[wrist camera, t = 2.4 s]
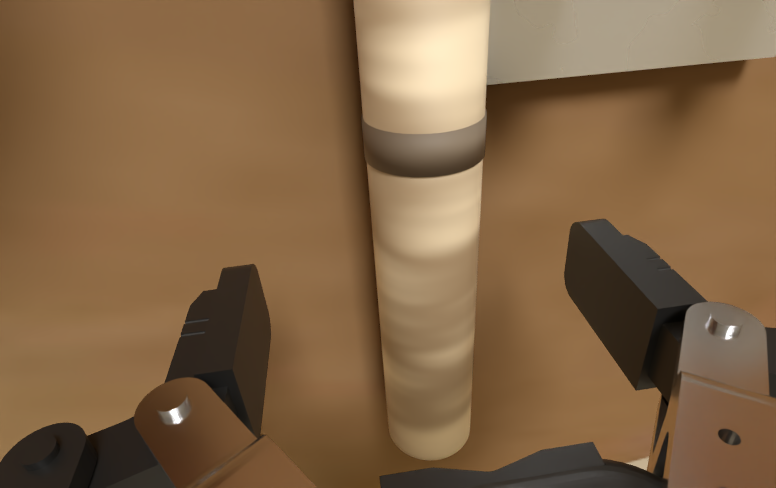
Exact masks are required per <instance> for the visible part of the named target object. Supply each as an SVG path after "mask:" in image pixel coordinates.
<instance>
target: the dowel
mask: <svg viewBox="0 0 776 488" xmlns="http://www.w3.org/2000/svg"><path fill="white" fill-rule="evenodd" d="M353 1H354V14H355V26H356V38H357V50H358V62H359V74H360V87H361V99H362V111H363V114H362V116H361V120H362V132H363V144H364V155H365V160H366V162H367V172H368V184H369V196H370V208H371V220H372V232H373V245H374V257H375V269H376V281H377V293H378V305H379V318H380V330H381V342H382V354H383V366H384V378H385V390H386V403H387V415H388V427H389V433H390V436H391V438H392V440H393V442H394V443H395V445H396V446H397V447H398V448H399V449H400V450H401V451H403V452H404V453H406V454H407V455H409V456H411V457H414V458H417V459H421V460H439V459H444V458H446V457H449V456H451V455H453V454H455V453H456V452H458V451H459V450H460V449H461V448H462V447H463V446H464V444H465V443H466V441H467V439H468V437H469V433H470V420H471V399H472V378H473V357H474V336H475V315H476V294H477V273H478V252H479V231H480V210H481V189H482V168H483V158H484V156H485V142H486V122H487V111H486V109H485V105H486V84H487V63H488V42H489V21H490V0H353Z"/></svg>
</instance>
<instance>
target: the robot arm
mask: <svg viewBox="0 0 776 488" xmlns="http://www.w3.org/2000/svg"><path fill="white" fill-rule="evenodd" d="M564 278H565V285H566V289H567V291H568V294H569V296H570V297H571V299H572V300H573V301H574V303H575V304H576V306H577V307H578V309H579V310H580V311H581V313H582V314H583V316H584V317H585V319H586V320H587V321H588V323H589V324H590V326H591V327H592V329H593V330H594V331H595V333H596V334H597V336H598V337H599V338H600V340H601V341H602V343H603V344H604V346H605V347H606V348H607V350H608V351H609V353H610V354H611V356H612V357H613V358H614V360H615V361H616V363H617V364H618V366H619V367H620V368H621V370H622V371H623V373H624V374H625V376H626V377H627V378H628V380H629V381H630V383H631V384H632V385H633V387H634V388H635V390H642V389H649V388H655V387H657V388H658V390H659V391H660V392H661V396H660V400H659V403H658V408H657V414H656V420H655V425H654V431H653V437H652V443H651V449H650V455H649V462H648V467H647V471H646V470H644V469H641V468H638V467H636V466H633V465H629V464H626V463H623V462H618V461H613V460H607V459H602V458H601V456H600V454H599V453H598V451H597V449H596V447H595V445H594V443H593V442H589V443H583V444H576V445H570V446H564V447H558V448H552V449H545V450H541V451H538V452H536V453H534V454H532V455H529V456H527V457H525V458H523V459H520V460H518V461H516V462H514V463H511V464H509V465H507V466H505V467H503V468H500V469H498V470H495V471H491V472H483V471H470V470H457V469H444V468H427V469H421V470H415V471H409V472H403V473H396V474H390V475H384V476H380V484H381V488H776V328H767V327H764V326H763V325H762V323H761V322H760V321H759V320H758V319H757V318H756V317H754V316H753V315H752V314H750V313H748V312H746V311H745V310H742V309H740V308H738V307H735V306H732V305H729V304H725V303H719V302H708V301H707V300H705V299H704V298H703V297H702V296H701V295H700V294H699V293H698V292H697V291H696V290H695V289H694V288H693V287H692V286H691V285H689V284H688V283H687V282H686V281H685V280H684V279H683V278H682V277H681V276H680V275H679V274H678V273H677V272H676V271H675V270H673V269H672V270H671V268H670V266H669V265H668V264H667V263H666V262H665V261H664V260H663V259H660V256H659V255H657V254H656V253H655V252H654V251H653V250H652V249H651V248H650V247H649V246H648V245H647V244H645V243H643V242H641V241H639V240H637V239H635V238H633V237H631V236H629V235H622V234H621V233H620V232H619V231H618V230H617V229H616V228H615V227H614V226H613V225H612V224H611V223H610V222H609V221H607V220H606V219H597V220H589V221H582V222H575V223H573V224H572V226H571V229H570V234H569V242H568V249H567V257H566V264H565V272H564ZM270 340H271V326H270V318H269V313H268V309H267V305H266V301H265V297H264V293H263V290H262V286H261V282H260V278H259V274H258V271H257V268H256V266H255V265H254V264H250V265H243V266H235V267H227V268H223V269H222V272H221V276H220V279H219V283H218V287H217V289H215V290H208V291H203V292H202V293H201V294H200V296H199V297H198V298H197V299H196V300H195V301H194V302H193V303H192V304H191V305H190V308H189V311H188V314H187V317H186V320H185V324H184V326H183V329H182V332H181V337H180V338H179V341H178V344H177V347H176V350H175V353H174V356H173V359H172V362H171V365H170V368H169V371H168V374H167V377H166V380H165V383H164V384H162V385H160V386H158V387H156V388H155V389H153V390H152V391H151V392H150V393H148V394H147V395H146V396H145V397H144V398H143V399H142V401H141V402H140V403H139V405H138V407H137V409H136V411H135V414H134V417H132V418H130V419H128V420H126V421H124V422H121V423H119V424H116V425H114V426H111V427H109V428H106V429H104V430H101V431H98V432H96V433H93V434H91V435H88V436H87V435H86V434H85V432H84V430H83V429H82V428H81V427H80V426H78V425H76V424H73V423H57V424H53V425H49V426H46V427H44V428H41V429H39V430H37V431H35V432H33V433H31V434H30V435H28V436H26V437H25V438H24V439H22V440H21V441H19V442H18V443H17V444H16V445H15V446H13V448H12V449H11V450H10V451H9V452H8V453H7V454H6V455H5V456H4V458H3V459H2V461H1V462H0V488H317V487H316V486H315V485H314V484H313V483H312V482H311V481H310V480H309V479H308V478H307V476H306V475H305V474H304V473H303V472H302V471H301V470H300V469H299V468H298V467H297V466H296V465H295V464H294V463H293V462H292V461H291V460H290V459H289V457H288V456H287V455H286V454H285V453H284V452H283V451H282V450H281V449H280V448H279V447H278V446H277V445H276V444H275V443H274V442H273V441H272V440H271V439H270V438H269V437H267V436H266V435H261V436H260V433H261V423H262V414H263V405H264V396H265V386H266V377H267V368H268V358H269V349H270Z"/></svg>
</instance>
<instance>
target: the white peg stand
mask: <svg viewBox="0 0 776 488" xmlns="http://www.w3.org/2000/svg"><path fill="white" fill-rule="evenodd" d="M775 55H776V0H490V21H489V42H488V63H487V84H486V85H492V84H502V83H512V82H522V81H533V80H543V79H553V78H563V77H573V76H584V75H594V74H604V73H614V72H625V71H635V70H645V69H655V68H666V67H676V66H686V65H696V64H707V63H717V62H727V61H737V60H748V59H758V58H768V57H775Z"/></svg>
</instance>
